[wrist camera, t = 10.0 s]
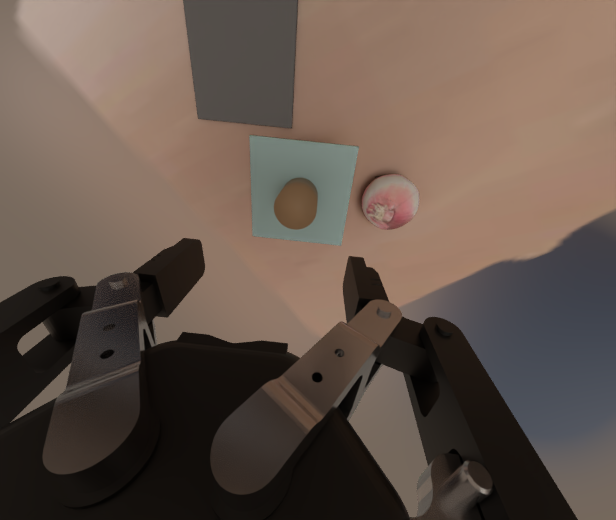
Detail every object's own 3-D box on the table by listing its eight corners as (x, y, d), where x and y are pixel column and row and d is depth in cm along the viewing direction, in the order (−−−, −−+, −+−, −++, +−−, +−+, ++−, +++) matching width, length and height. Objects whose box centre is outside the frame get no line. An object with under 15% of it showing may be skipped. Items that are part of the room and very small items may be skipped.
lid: (252, 135, 24) (232, 136, 19) (357, 146, 24) (367, 150, 18) (254, 232, 29) (239, 255, 24) (340, 242, 29) (344, 266, 24)
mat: (182, -18, 26) (180, -20, 25) (298, -6, 25) (297, -8, 25) (199, 118, 32) (197, 118, 32) (291, 128, 32) (291, 128, 31)
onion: (352, 205, 38) (348, 205, 31) (386, 164, 35) (390, 154, 28) (389, 236, 37) (394, 243, 30) (426, 198, 35) (440, 196, 28)
